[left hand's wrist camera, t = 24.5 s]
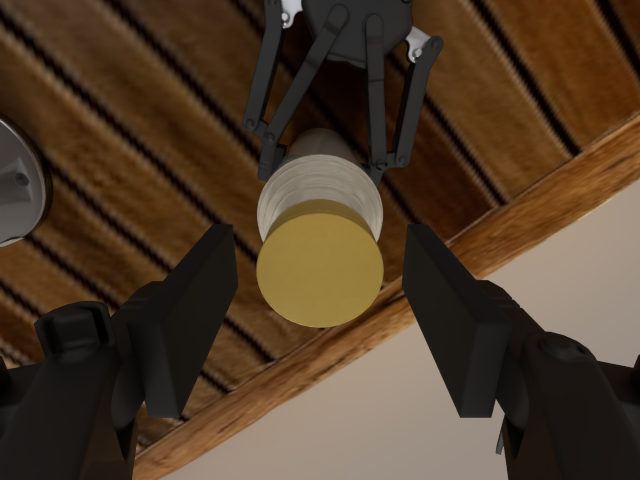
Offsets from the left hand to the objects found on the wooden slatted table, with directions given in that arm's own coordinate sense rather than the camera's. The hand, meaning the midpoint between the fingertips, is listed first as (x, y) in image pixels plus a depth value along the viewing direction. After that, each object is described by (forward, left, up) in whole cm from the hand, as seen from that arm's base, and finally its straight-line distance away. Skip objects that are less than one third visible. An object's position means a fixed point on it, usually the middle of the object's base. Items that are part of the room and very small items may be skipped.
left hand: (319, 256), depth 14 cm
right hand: (+3, -4, -18) cm, 19 cm away
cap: (0, 0, +1) cm, 1 cm away
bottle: (0, 0, -25) cm, 25 cm away
